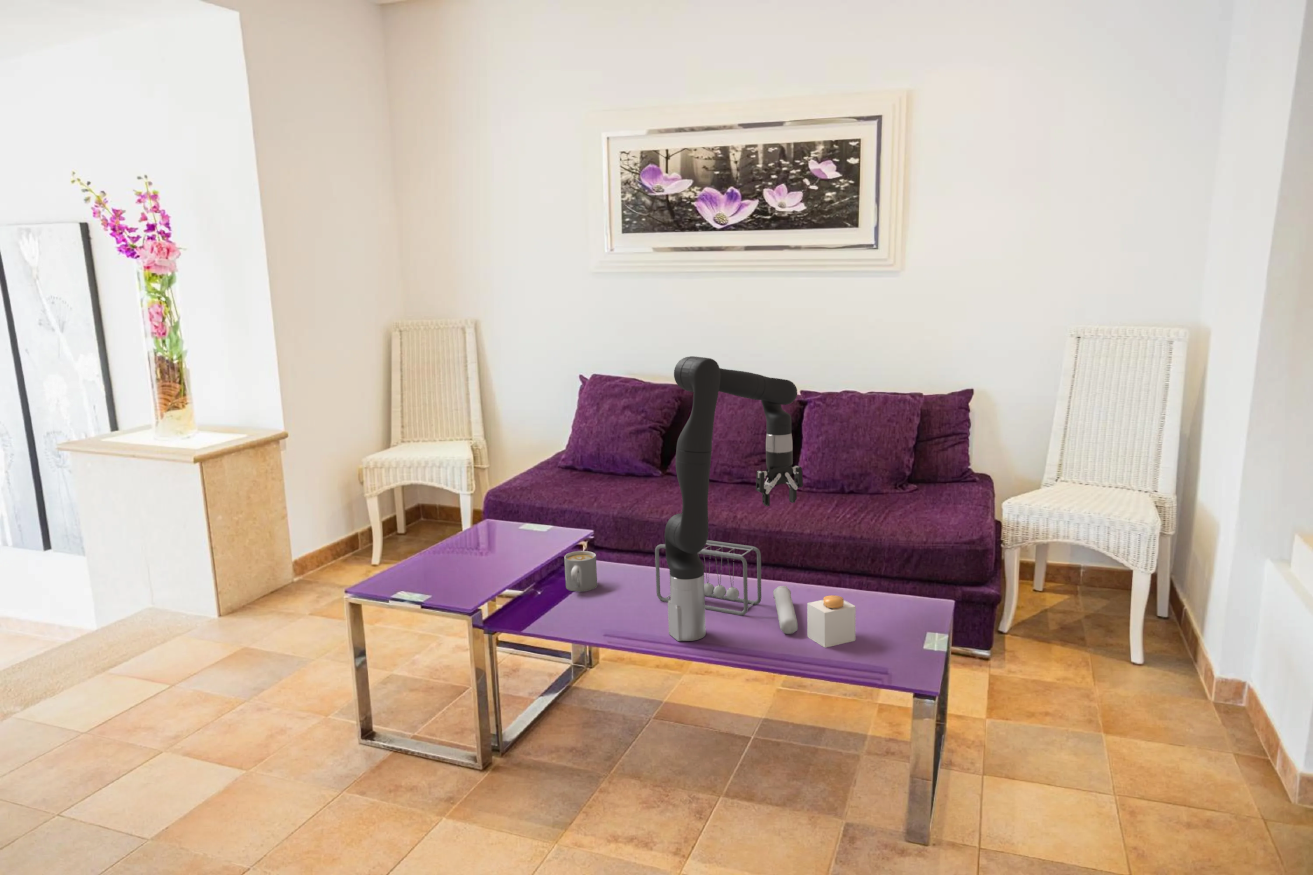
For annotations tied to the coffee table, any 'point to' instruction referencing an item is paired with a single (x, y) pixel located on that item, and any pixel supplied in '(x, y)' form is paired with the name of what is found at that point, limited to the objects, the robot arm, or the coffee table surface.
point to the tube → (785, 610)
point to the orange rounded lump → (833, 602)
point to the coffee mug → (580, 571)
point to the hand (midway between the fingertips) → (779, 504)
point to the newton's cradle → (719, 589)
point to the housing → (831, 623)
